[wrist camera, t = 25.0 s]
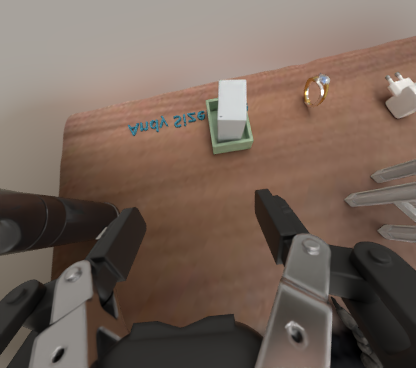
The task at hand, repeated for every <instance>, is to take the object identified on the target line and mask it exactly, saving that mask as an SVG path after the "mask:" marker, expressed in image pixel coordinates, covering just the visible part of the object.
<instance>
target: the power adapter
mask: <svg viewBox="0 0 416 368" xmlns="http://www.w3.org/2000/svg"><path fill="white" fill-rule="evenodd" d="M395 76H396V77H397V78H398V79H399V81H397V82H395V83H394V81H393V80H392V79H391V77H390V76H389V75H387V76H386V77H385V79H386V80H387V81H388V82H389V83H390V85H389V86H388V89H389V91H390V92H391V93H392V95H393V96H392V97H391V98H390V99H388V100H387V101H386V106H387V107H388V109H389V110H390V111H391V113H392V114H393V115H394V116H395V117H396V118H402V117H405V116H408V115H411V114H413V113H415V112H416V83H413V82H412V81H411V79H410V78H406V79H404V78H403V77H402V76H401V74H400V73H399V72H396V73H395Z"/></svg>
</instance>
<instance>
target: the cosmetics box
mask: <svg viewBox="0 0 416 368" xmlns="http://www.w3.org/2000/svg"><path fill="white" fill-rule="evenodd" d="M246 120H247V109H246V80H219V92H218V116H217V128H218V136H217V144H219V143H225V142H231V141H237V140H241V137H242V134H243V131H244V127H245V123H246Z"/></svg>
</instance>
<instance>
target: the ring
mask: <svg viewBox="0 0 416 368" xmlns="http://www.w3.org/2000/svg"><path fill="white" fill-rule="evenodd" d="M312 81H313V82H316V84H317V85H318V87H319V89H320V96H319V98H318V100H317V102H316V103H315V104H311V103H310V100H309V99H308V89H309V86H310V84H311V83H312ZM329 82H330V79H329V77H328V76H326V75H321V73H320V74H319V75H316V76H314V77H312V78H309V79H308V80H307V82H306V85H305V88H304V103H305V104H306V105H307V106H308V107H315V106H318V105H319V104H321V103H322V102H323V100H324V99H325V97H326V95H327V93H328V87H329V85H328V84H329Z"/></svg>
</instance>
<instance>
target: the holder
mask: <svg viewBox="0 0 416 368" xmlns="http://www.w3.org/2000/svg"><path fill="white" fill-rule="evenodd" d="M206 106H207V113H208V120H209V127H210V133H211V140H212V147H213V153H214V154H219V153H225V152H231V151H237V150H244V149H250V148H251V145H252V143H253V136H252V132H251V127H250V123H249V118H248V114H247V120H246V123H245V127H244V131H243V134H242V137H241V140H237V141H231V142H225V143H219V144H217V136H218V128H217V116H218V98H215V99H210V100H206Z"/></svg>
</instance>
